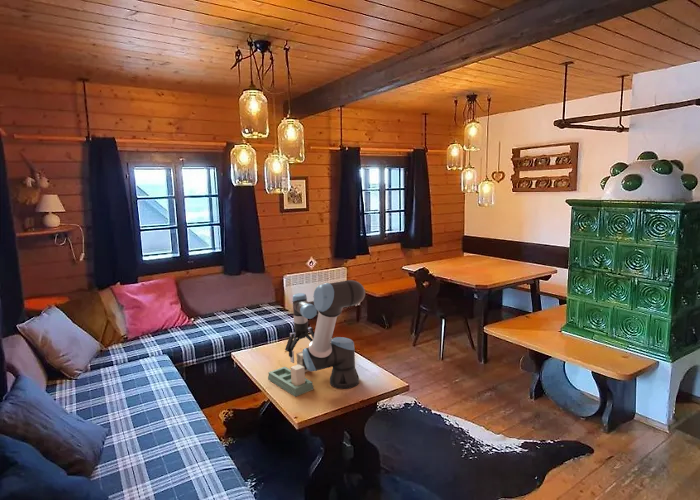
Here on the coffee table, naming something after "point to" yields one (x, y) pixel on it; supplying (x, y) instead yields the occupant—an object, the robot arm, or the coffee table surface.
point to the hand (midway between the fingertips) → (302, 358)
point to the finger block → (301, 360)
